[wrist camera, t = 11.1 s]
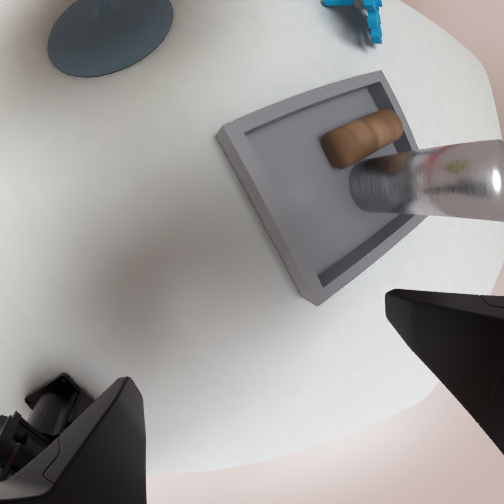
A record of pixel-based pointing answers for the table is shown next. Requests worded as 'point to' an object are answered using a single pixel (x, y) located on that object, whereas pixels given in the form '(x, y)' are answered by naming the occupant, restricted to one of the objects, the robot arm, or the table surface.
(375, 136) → the rod
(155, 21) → the cocktail glass
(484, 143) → the sleeve
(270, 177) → the tray
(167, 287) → the table surface
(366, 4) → the gear
